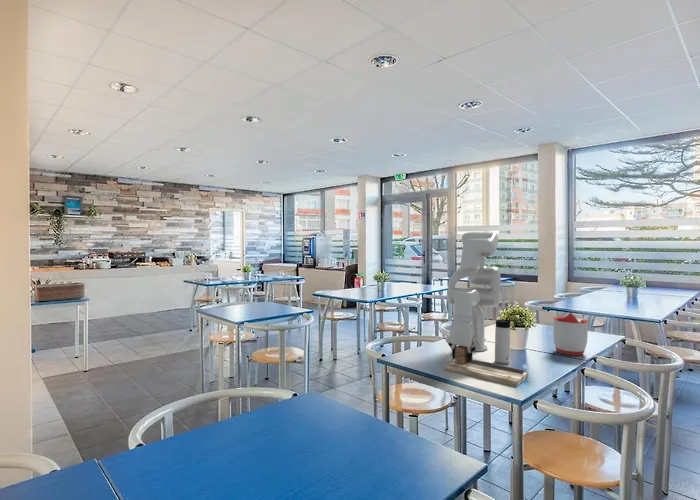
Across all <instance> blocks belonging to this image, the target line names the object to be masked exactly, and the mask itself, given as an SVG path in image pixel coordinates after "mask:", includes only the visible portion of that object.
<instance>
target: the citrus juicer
mask: <svg viewBox="0 0 700 500" xmlns="http://www.w3.org/2000/svg"><path fill="white" fill-rule="evenodd" d="M552 319H553V344H554V348H555V351H556V352H557V353H558V352H559V354H562V355H566V354H567V356H571V355H575V356H583V354H584V353H585V352H586V347H587V344H588V333H589V332H588V330H589V324H588V323H589V320H588V319H585V318H583V319H581V320H580V321H578V319H577V317H576V316H574V314H573V313H569V314H567V315H565V316H554V317H553V318H552Z"/></svg>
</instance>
